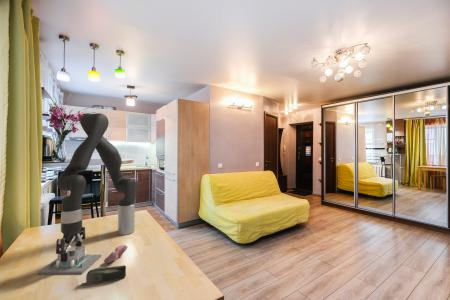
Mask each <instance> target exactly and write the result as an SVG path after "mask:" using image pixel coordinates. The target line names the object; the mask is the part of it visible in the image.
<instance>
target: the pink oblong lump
mask: <svg viewBox="0 0 450 300" xmlns="http://www.w3.org/2000/svg"><path fill="white" fill-rule="evenodd" d="M126 250H128V246H127V245H125V244H122V245H118V246H116V247H115V249H114V250H113V251H112V252H111V253H110V254H109V255H107V257H106V258H105V259H103V263H104V264H110V263H112V262H115V261H117V260H118V258H121V257H122V256H123V254H125V252H126Z"/></svg>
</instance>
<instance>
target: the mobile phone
mask: <svg viewBox="0 0 450 300" xmlns="http://www.w3.org/2000/svg"><path fill="white" fill-rule="evenodd" d="M126 269H127V265H118V266H117V265H115V266H106V267H105V266H104V267H97V268H96V267H95V268H94V269H90V270H88V271H87V273H86V274H85V275H86V276H85V280H86V281H85V282H82V283H81V286H85V285H92V284H98V283H106V282H115V281H120V279H121V280H124V279H125V277H126V275H127V274H126V273H127V270H126ZM114 280H115V281H114Z"/></svg>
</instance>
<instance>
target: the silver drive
mask: <svg viewBox="0 0 450 300" xmlns="http://www.w3.org/2000/svg"><path fill="white" fill-rule="evenodd" d="M65 249H66V247H65V248H64V250H65ZM60 250H61V248H60ZM85 251H86V246H85V245H84V246H83V245H82V246H76V245H75V246H71V247H69V249H68V260H67V261H66V262H61V254H57V258H58V260H60V265H71V260H74V265H79V264H80V263H82V262H83V261H84V260H85Z"/></svg>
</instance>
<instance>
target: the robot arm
mask: <svg viewBox="0 0 450 300" xmlns="http://www.w3.org/2000/svg"><path fill="white" fill-rule="evenodd" d="M109 125H110V123H109V118H108V117H107V115H106V114H103V113H101V112H99V113H98V112H97V113H87V114H83V115H81V117H80V127H82V130H83V131H84V132H85V134H86V135H87V137H86V138H85V139H84V140H83V142H81V143H80V145H78V146H77V147H76V149H75V150H74V152H73V154H72V155H71V159H70V161H69V164H68V165H67V166H66V167H65V168H64V170H63V171H62V172H61V173H60V175H58V176H59V177H58V178H57V182H56V187H57V188H58V189H59V190H61V191H69V195H67V196H65V197H63V198H62V199H61V213H60V233H61V234H63V235H62V238H57V239H56V244H55V245H56V247H55V248H56V249H55V254H56V255H58V254H61V262H66V261H67V260H68V249H69V247H72V246H73V243H75V246H83V244H82V243H83V241H84V240H85V239H86V227H85V226H83V210H82V199H83V196H84V193H85V189H86V187H87V180H86V178H85V176H83V175H82V174H79V173H82V172H85V171H86V170H87V169H88V168H89V167H88V166H89V164H90V162H91V160H92V157H93V153H95V152H94V151H95V150H96V152H97V154H98V155H99V158H100V160H101V161H102V163H103V165H104V166H105V169H106V170H107V173H108V175H109V177H110V179H111V182H112V185H113V186H114V187H113V188H114V189H115V191H116V192H118V193H121V194H124V197H123V198H120V199H118V202H117V234H118V235H120V236H121V235H122V236H124V235H125V236H126V235H127V236H128V235H131V234H133V233H134V232H135V231H136V230H135V228H136V225H135V222H136V221H135V219H136V218H135V217H136V216H135V215H136V214H135V213H136V212H135V211H136V209H135V207H136V203H135V202H136V199H137V181H136V179H135V178H129V177H124V175H123V174H122V170H121V167H122V161H123V158H122V157H121V154H120V152H119V151H118V149H117V147H116V146H115V145H113V144H112V143H111V142H110V141H108V140H107V139H106V138H105V137H104V135H105V133H106V131H107V130H108V127H109ZM130 233H131V234H130ZM65 247H66V249H65V250H64V248H65ZM60 249H61V250H60Z"/></svg>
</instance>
